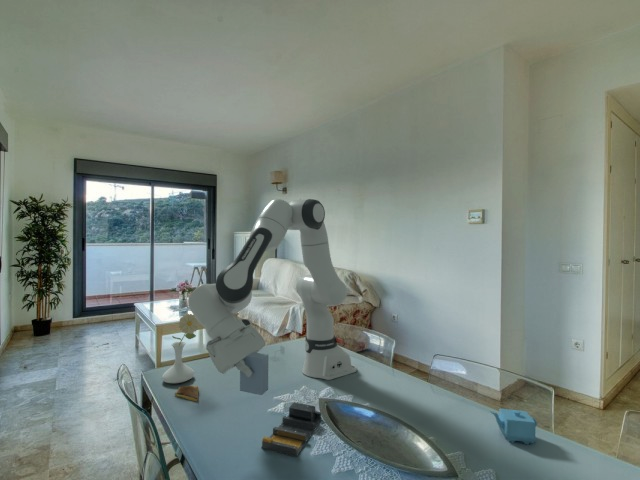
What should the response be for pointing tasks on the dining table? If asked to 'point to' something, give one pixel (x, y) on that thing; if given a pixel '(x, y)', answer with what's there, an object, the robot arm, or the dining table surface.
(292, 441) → the rack
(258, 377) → the blue-grey rectangular block
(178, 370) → the flower in vase
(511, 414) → the teapot
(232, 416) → the dining table surface
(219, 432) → the dining table surface
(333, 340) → the robot arm
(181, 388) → the shard
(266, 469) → the dining table surface
